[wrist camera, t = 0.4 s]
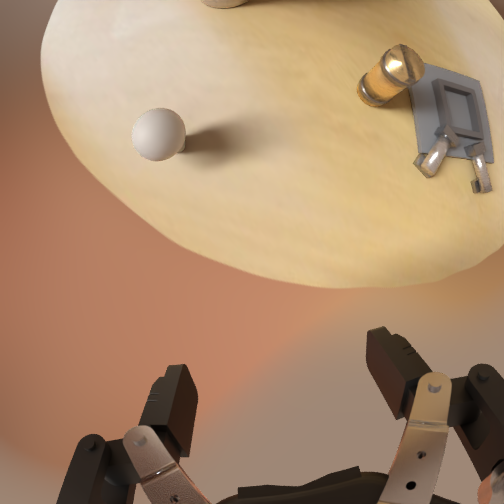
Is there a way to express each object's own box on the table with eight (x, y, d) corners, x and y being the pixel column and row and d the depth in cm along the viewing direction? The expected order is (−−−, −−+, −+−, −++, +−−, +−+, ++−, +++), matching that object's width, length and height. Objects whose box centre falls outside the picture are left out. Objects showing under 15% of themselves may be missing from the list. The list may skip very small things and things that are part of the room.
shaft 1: (434, 128, 33) (447, 124, 30) (446, 142, 34) (460, 139, 30) (413, 163, 35) (425, 161, 31) (426, 177, 35) (439, 177, 32)
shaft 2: (460, 147, 34) (473, 145, 30) (470, 143, 33) (483, 141, 30) (473, 192, 35) (487, 193, 31) (483, 187, 35) (496, 188, 31)
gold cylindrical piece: (353, 76, 33) (384, 40, 21) (383, 80, 32) (420, 48, 21) (358, 106, 34) (393, 77, 22) (388, 109, 33) (430, 84, 22)
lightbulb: (149, 152, 36) (112, 139, 25) (175, 117, 35) (146, 92, 24) (181, 175, 36) (152, 169, 26) (208, 139, 35) (189, 119, 24)
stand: (401, 60, 31) (409, 53, 28) (476, 82, 31) (485, 78, 28) (418, 153, 34) (428, 151, 32) (490, 163, 34) (501, 162, 31)
